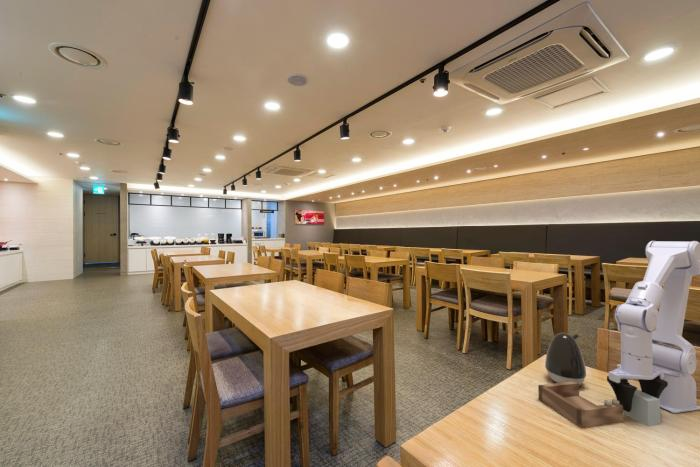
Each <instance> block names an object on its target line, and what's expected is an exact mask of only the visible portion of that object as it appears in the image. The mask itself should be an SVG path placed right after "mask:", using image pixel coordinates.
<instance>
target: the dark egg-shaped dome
mask: <svg viewBox="0 0 700 467" xmlns="http://www.w3.org/2000/svg"><path fill="white" fill-rule="evenodd" d="M579 337H580V336H579V335H578V334H577V333H575V334H573V335H571V334H569V333H567V332H559V333H557V334H555V335H554V337H553V338H552V339H551V341H550V343H549V345H548V349H547V350H546V351H547V352H546V356H545V362H544V367H545V369H546V372H547V374H548V376H549V378H550V379H551V380H552V381H554V382H555V383H563V382H572V381H576V382H578V383H579V386H580V385H582V384H583V383H584V381H585V378H586V377H587V369H586V364H585V360H584V357H583V354H582V351H581V347H580V345H579V344H578V342H577V339H578V338H579Z"/></svg>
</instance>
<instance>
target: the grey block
mask: <svg viewBox="0 0 700 467" xmlns="http://www.w3.org/2000/svg"><path fill="white" fill-rule="evenodd" d="M615 399H616V400H617V398H616V397H615ZM660 408H661V407H660V399H658V398H655V397H653V396H651V395H648V394H646V393H644V392H642V391H641V390H639V389H638V388H637V389H636V391H635V393H634V395H633V399H632V408H631V411H630V412H627V411H625V410H623V415H626V416H629V417H630V418H631V419H634V420H636V421H638V422H639V423H642V424H644V425H645V426H646V427H653V426H660V425H661V409H660Z"/></svg>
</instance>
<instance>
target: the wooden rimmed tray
mask: <svg viewBox="0 0 700 467" xmlns="http://www.w3.org/2000/svg"><path fill="white" fill-rule="evenodd" d="M537 387H538V389H537V390H538V397H537V398H538V401H540V402H541V403H543V404H544V405H546V406H547V407H549V408H550V409H552V410H553V411H555V412H556V413H558V414H559V415H561V416H563V417H564V418H565V419H567V420H568V421H570V422H571V423H572V424H574V425H576V426H577V427H579V428H580V429H587V428H594V427H601V426H606V425H607V426H608V425H614V424H620V423H624V413H623V405H621V404H619V401H618V400H616V398H612V399H611V401H610V400H607V399H604V401H603V403H604V404H598V405H597V404H596V403H594V402H592V401H590V400H588V399H586V398H585V397H582V396H581V395H580V385H579V383H578V382H576V381H572V382H563V383H557V382H555V383H548V384H538V386H537Z"/></svg>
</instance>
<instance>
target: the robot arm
mask: <svg viewBox="0 0 700 467" xmlns="http://www.w3.org/2000/svg"><path fill="white" fill-rule="evenodd" d="M645 256H646V259H647V262H648V265H647V267H646V271H645V274H644V277H643V280H641V281H637V282H636V283H635V284H634V285H633V287H632V289H631V291H630V293H629V295H628V297H627V298H626V301H625V303H622V304H619V305H618V306H616V308H615V312H614V321H615V322H616V324H617V331H618V332H619V333H620V363H619V364H616V368H615V369H613V370H611V371H608V376H606V381H607V383H608V384H609V385H610V387H611V388H612V391H613V393H614V395H615V399H616V398H617V400H618V401H619V404H621V405H623V410H625V411H627V412H630V411H631V408H632V399H633V395H634V393H635V391H636V389H637V390H638V387H637V386H635V385H633V384H630V382H629V381H633V380H635V381H636V380H637V381H638V383H639V386H640V391H642V392H644V393H646V394H648V395H651V396H653V397H655V398H658V399H660V408H661V409H663V410H666V411H667V412H670V413H672V414H679V413H686V412H694V411H698V410H699V411H700V406H699V405H697V382H696V380H695V379H694V377H693V376H692V374H694V373H695V371H696V368H697V357H696V356H697V355H696V354H697V350H696V348H695V347H694V345H693V344H692V343H691V342H689V341H688V340H686V339H685V338H684V337H683V329H684V324H685V323H684V322H685V317H686V312H687V306H688V305H687V304H688V299H689V293H690V287H691V283H692V279H693V277H695V276H699V275H700V242H699V241H697V240H692V241H676V240H675V241H669V240H668V241H666V240H665V241H660V240H659V241H656V240H651V241H649V242H648V243H647V244H646V246H645Z"/></svg>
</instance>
